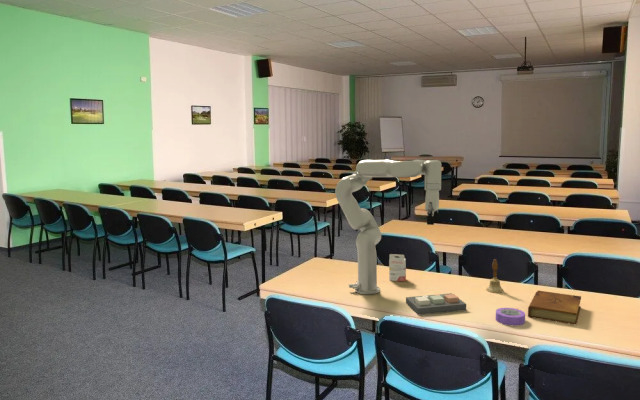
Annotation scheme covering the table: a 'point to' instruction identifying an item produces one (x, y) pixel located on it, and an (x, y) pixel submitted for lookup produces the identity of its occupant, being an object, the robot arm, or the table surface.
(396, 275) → the ink cartridge box
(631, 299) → the table surface
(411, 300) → the keypad
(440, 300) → the key sage
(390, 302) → the table surface
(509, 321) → the masking tape
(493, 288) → the hand bell
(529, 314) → the diary
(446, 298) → the key terracotta
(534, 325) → the table surface
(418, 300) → the key cream
